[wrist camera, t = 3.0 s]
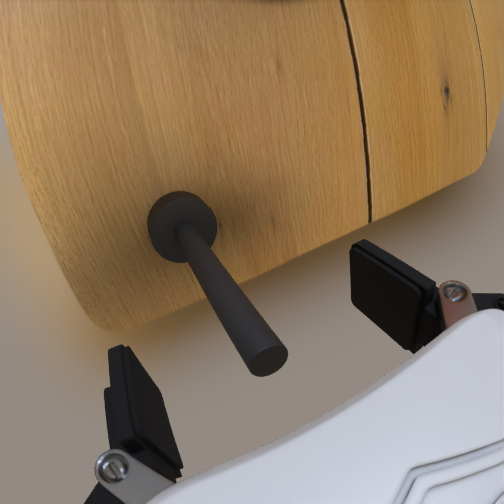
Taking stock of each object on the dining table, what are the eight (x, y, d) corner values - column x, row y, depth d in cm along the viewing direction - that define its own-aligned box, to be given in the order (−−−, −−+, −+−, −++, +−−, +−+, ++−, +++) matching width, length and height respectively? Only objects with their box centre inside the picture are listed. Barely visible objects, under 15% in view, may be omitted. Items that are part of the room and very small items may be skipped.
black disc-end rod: (160, 260, 22) (226, 421, 10) (138, 205, 19) (182, 346, 8) (215, 237, 23) (329, 369, 11) (199, 181, 21) (322, 281, 9)
